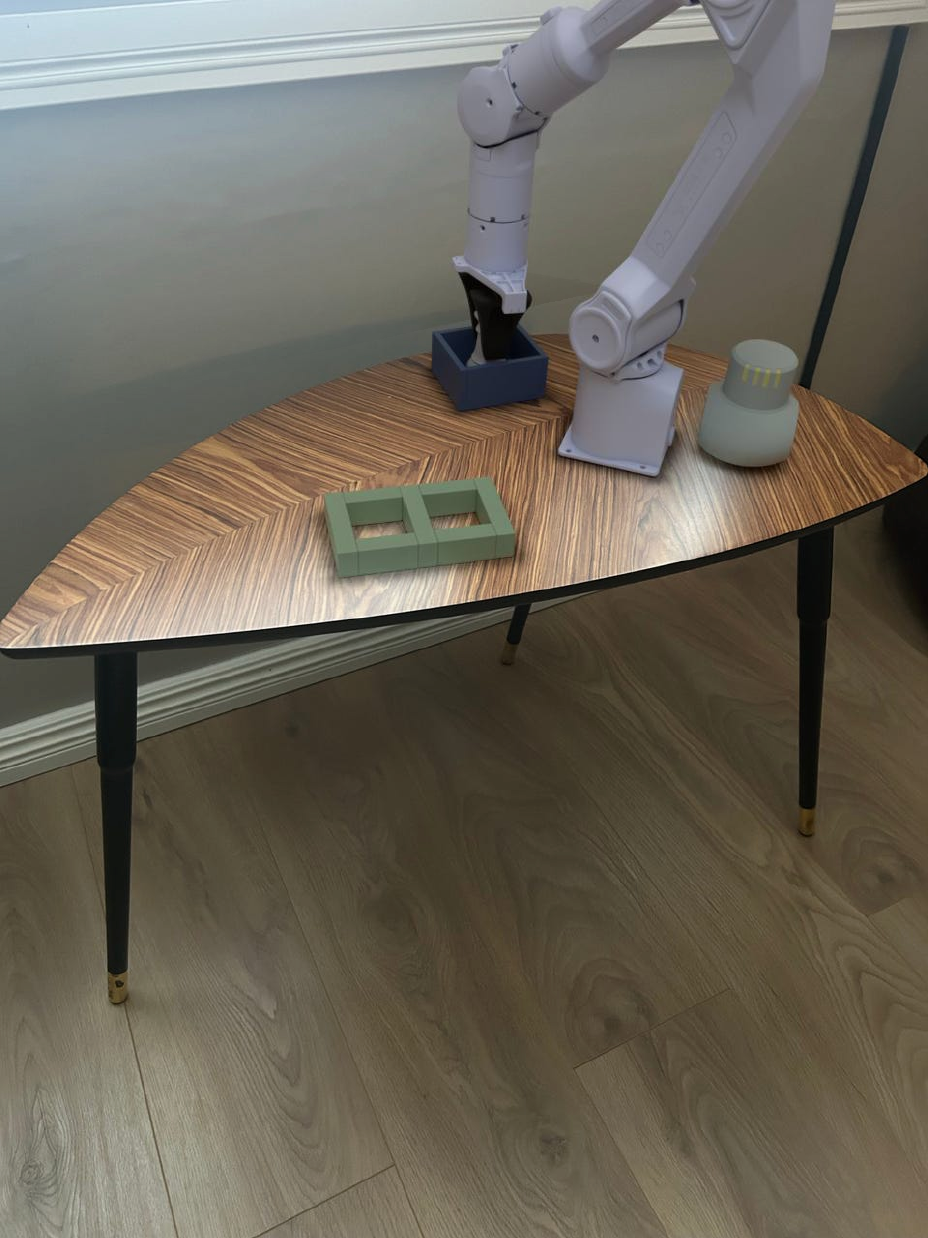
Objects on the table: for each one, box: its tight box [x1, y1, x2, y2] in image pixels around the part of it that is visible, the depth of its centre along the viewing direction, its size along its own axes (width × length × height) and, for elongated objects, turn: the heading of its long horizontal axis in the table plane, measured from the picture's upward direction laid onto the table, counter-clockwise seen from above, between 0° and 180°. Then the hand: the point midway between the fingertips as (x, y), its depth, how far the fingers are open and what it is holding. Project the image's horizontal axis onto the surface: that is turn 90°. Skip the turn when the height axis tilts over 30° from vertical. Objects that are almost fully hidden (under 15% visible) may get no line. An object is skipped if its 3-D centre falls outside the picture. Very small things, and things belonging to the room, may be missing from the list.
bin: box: [431, 322, 550, 412], centre depth 101 cm, size 9×8×4 cm
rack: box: [323, 476, 516, 579], centre depth 83 cm, size 14×8×2 cm, turn 104°
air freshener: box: [696, 338, 800, 468], centre depth 92 cm, size 11×8×10 cm
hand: (489, 348), depth 100 cm, fingers closed on rook chess piece, 3 cm apart
